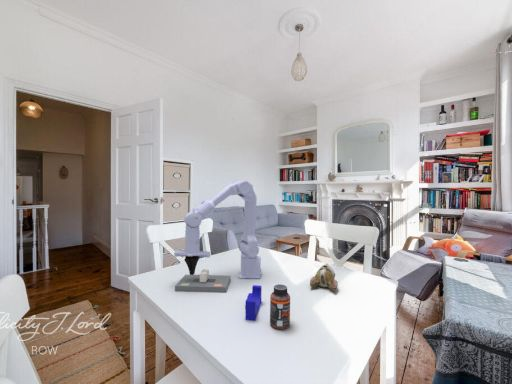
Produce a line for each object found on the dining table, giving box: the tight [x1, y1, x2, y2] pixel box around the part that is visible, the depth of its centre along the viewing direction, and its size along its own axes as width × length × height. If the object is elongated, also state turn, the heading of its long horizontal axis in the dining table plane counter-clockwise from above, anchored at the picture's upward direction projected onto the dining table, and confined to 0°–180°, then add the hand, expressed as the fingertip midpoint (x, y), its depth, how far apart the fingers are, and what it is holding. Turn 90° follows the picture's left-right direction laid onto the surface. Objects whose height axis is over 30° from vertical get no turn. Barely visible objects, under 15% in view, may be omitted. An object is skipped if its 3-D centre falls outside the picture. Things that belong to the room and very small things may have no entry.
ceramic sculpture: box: [309, 263, 338, 291], centre depth 98 cm, size 11×9×15 cm
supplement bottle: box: [269, 283, 291, 330], centre depth 70 cm, size 6×6×11 cm
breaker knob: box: [199, 268, 210, 282], centre depth 97 cm, size 2×5×4 cm, turn 178°
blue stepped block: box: [244, 284, 262, 322], centre depth 78 cm, size 12×4×6 cm, turn 169°
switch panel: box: [174, 274, 231, 293], centre depth 97 cm, size 20×12×2 cm, turn 88°
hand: (192, 273), depth 97 cm, fingers closed
